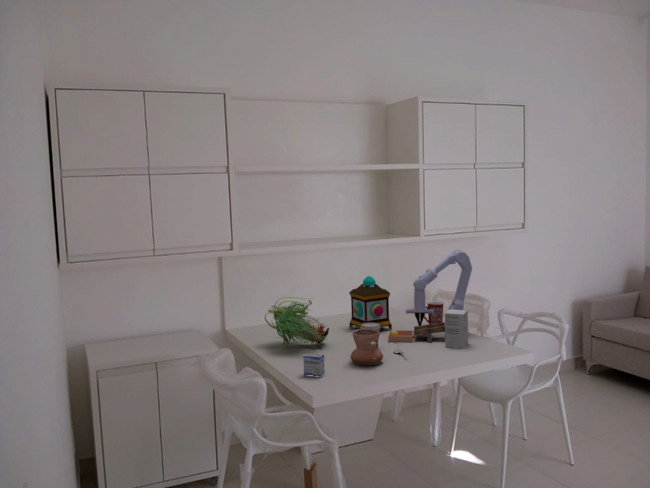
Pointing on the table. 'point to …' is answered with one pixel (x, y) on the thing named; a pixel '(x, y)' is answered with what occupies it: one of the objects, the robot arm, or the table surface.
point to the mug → (435, 312)
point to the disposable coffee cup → (371, 327)
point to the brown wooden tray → (429, 329)
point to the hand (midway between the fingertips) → (420, 327)
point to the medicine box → (313, 364)
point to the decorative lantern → (370, 304)
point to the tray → (401, 336)
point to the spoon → (401, 353)
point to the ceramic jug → (366, 347)
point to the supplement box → (456, 328)
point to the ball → (394, 333)
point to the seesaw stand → (429, 337)
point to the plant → (296, 323)
